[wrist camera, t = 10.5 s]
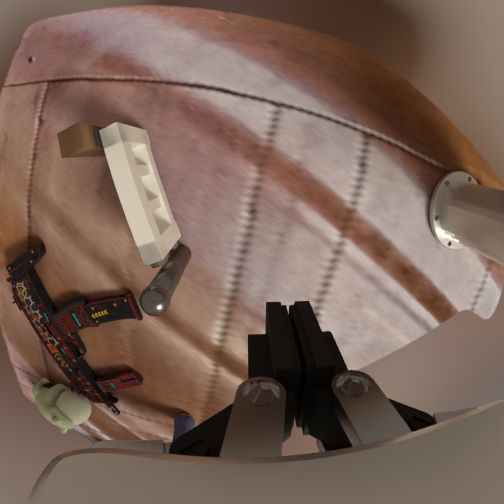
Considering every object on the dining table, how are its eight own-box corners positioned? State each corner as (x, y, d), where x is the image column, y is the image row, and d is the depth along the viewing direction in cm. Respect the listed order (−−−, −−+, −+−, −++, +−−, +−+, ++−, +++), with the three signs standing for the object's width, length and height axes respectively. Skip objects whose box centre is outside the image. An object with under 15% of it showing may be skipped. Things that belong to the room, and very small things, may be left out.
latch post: (132, 131, 31) (80, 120, 19) (136, 149, 32) (85, 145, 20) (113, 139, 31) (57, 133, 19) (117, 156, 32) (61, 157, 20)
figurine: (104, 413, 47) (90, 447, 37) (52, 405, 47) (36, 433, 37) (83, 380, 44) (63, 414, 34) (31, 374, 44) (11, 401, 34)
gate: (146, 130, 30) (116, 121, 22) (183, 241, 35) (165, 266, 26) (132, 136, 30) (99, 130, 22) (168, 245, 35) (147, 272, 26)
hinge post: (189, 241, 36) (159, 290, 22) (195, 261, 37) (171, 319, 23) (169, 246, 36) (130, 296, 22) (175, 266, 37) (142, 324, 23)
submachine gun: (197, 404, 42) (92, 422, 43) (198, 390, 46) (97, 410, 46) (85, 214, 32) (-8, 276, 32) (97, 210, 35) (4, 269, 36)
